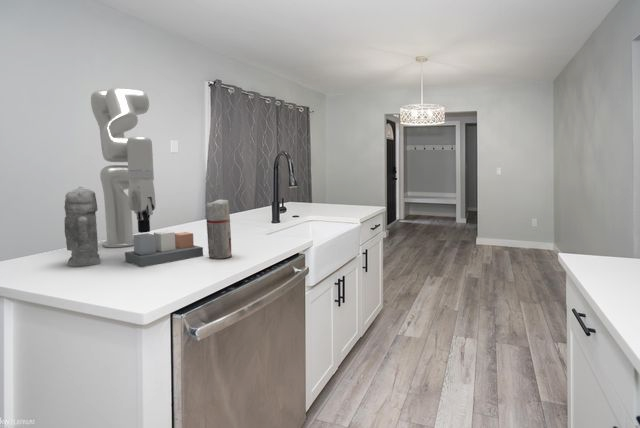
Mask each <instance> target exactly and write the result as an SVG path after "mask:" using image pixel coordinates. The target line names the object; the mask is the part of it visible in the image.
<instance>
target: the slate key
mask: <svg viewBox="0 0 640 428" xmlns="http://www.w3.org/2000/svg"><path fill="white" fill-rule="evenodd" d="M133 241H134V245H133V251H134V253H136V254H139V255H146V254H152V253H156V243H155V235H154V233H152V234H151V233H149V232H145V233H140V234H139V233H138V234H133Z"/></svg>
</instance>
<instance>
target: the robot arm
mask: <svg viewBox="0 0 640 428" xmlns="http://www.w3.org/2000/svg"><path fill="white" fill-rule="evenodd" d="M90 104H91V105H90V106H91V111H92V113H93V115H94V116H93V117H94V118H95V120H96V122H97V125H98V129H99V136H100V145H101V146H100V147H101V153H102V154H101V155H102V157H103V159H104V161H106V162H110V163H127V165H125V164H121V165H120V164H119V165H118V164H113V165H112V164H111V165H106V166H104V167H103V168H101V170H100V172H99V176H100V177H99V178H100V182H101V187H102V192H103V198H104V199H103V200H104V215H105V230H106V241H104V242H103V243H102V246H103V247H104V248H124V247H132V246H134V241H133V235H134V232H133V231H134V230H133V229H134V228H133V212H134V214H135V215H136V220H137V230H138V233H140V234H145V233H149V232H151V223H150V222H151V221H150V220H151V216H153V214H154V213H153V211H155V209H156V194H155V186H154V180H155V179H154V178H155V173H154V159H153V157H154V155H153V154H154V153H153V141H152V140H151V139H150V138H149V137H144V136H132V137H125V133H126V132H128V131H131V130H133V129H134V128H135V127H136V126H137V125H138V122H139V119H138V115H143V114H146V113H147V112H148V111H149V108H150V100H149V97H148V95H147V93H146V92H145V91H143V90H141V89H134V88H127V87H113V88H110V89H107V90H105V89H104V90H95V91H94V92H92V93H91V96H90ZM124 190H128V194H127V193H125V191H124Z"/></svg>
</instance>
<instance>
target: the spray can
mask: <svg viewBox="0 0 640 428" xmlns="http://www.w3.org/2000/svg"><path fill="white" fill-rule="evenodd" d="M205 208H206V209H205V211H206V213H205V219H206V232H207V247H208V248H207V250H208V256H209V257H208V258H210V259H214V260H215V259H218V260H219V259H226V258H231V257H232V256H233V255H232V236H231V234H232V233H231V218H230V217H231V215H230V201H229V200H227V199H216V200H214V201H213V202H208V203H206V207H205Z"/></svg>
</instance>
